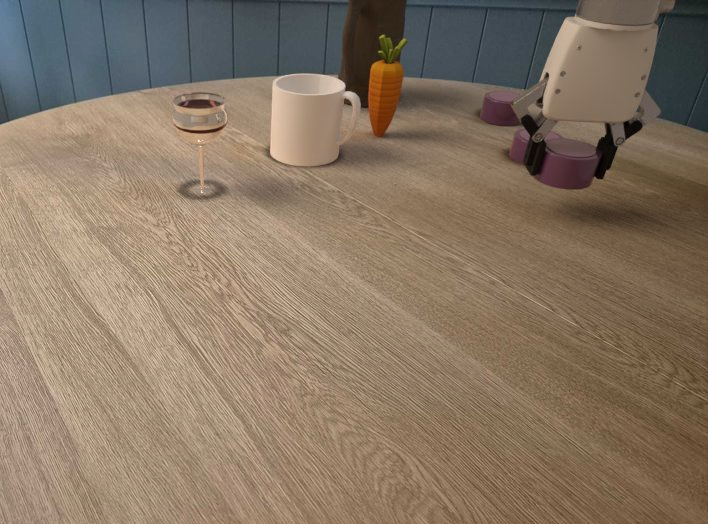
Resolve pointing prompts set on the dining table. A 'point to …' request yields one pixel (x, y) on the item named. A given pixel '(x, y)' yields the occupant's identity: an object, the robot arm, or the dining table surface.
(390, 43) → the carrot
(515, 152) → the dish
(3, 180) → the dining table surface
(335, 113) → the mug
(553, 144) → the dish
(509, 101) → the dish
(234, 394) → the dining table surface
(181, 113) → the wineglass
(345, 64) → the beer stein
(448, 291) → the dining table surface
